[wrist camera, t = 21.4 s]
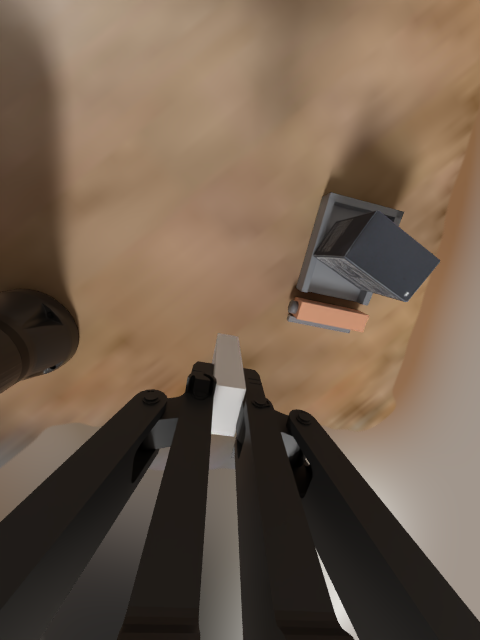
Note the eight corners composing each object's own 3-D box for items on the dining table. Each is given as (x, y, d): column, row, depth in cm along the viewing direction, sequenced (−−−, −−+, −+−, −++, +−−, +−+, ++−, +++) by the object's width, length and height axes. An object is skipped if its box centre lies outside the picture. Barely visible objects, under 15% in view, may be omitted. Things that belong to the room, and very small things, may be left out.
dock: (286, 319, 43) (291, 325, 40) (322, 196, 37) (330, 192, 34) (346, 331, 44) (355, 337, 41) (390, 214, 38) (404, 211, 35)
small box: (387, 256, 37) (445, 259, 27) (360, 290, 39) (407, 305, 29) (337, 218, 35) (380, 206, 25) (311, 255, 37) (342, 259, 27)
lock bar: (285, 311, 42) (291, 317, 38) (289, 295, 41) (296, 300, 37) (351, 324, 44) (363, 332, 40) (356, 309, 43) (369, 315, 39)
